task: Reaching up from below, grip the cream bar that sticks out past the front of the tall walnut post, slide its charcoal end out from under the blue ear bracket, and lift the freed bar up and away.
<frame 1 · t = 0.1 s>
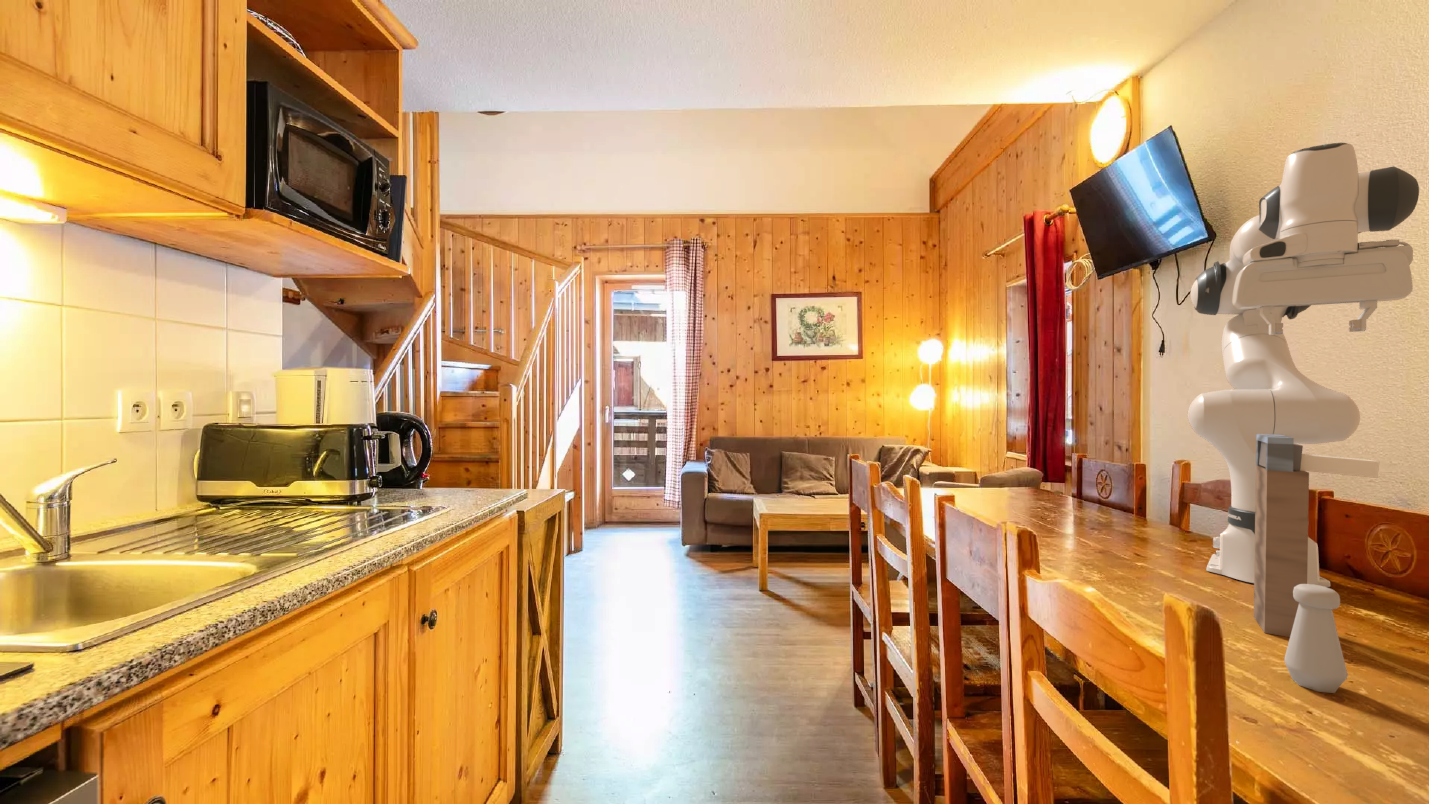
hand: (1315, 333, 95), 48 cm above the table, tool pointing down, fingers open, 8 cm apart
cream bar: (1317, 471, 94), point 26 cm above the table, touching post
post: (1278, 627, 96), on the table
salt shaker: (1314, 686, 77), on the table
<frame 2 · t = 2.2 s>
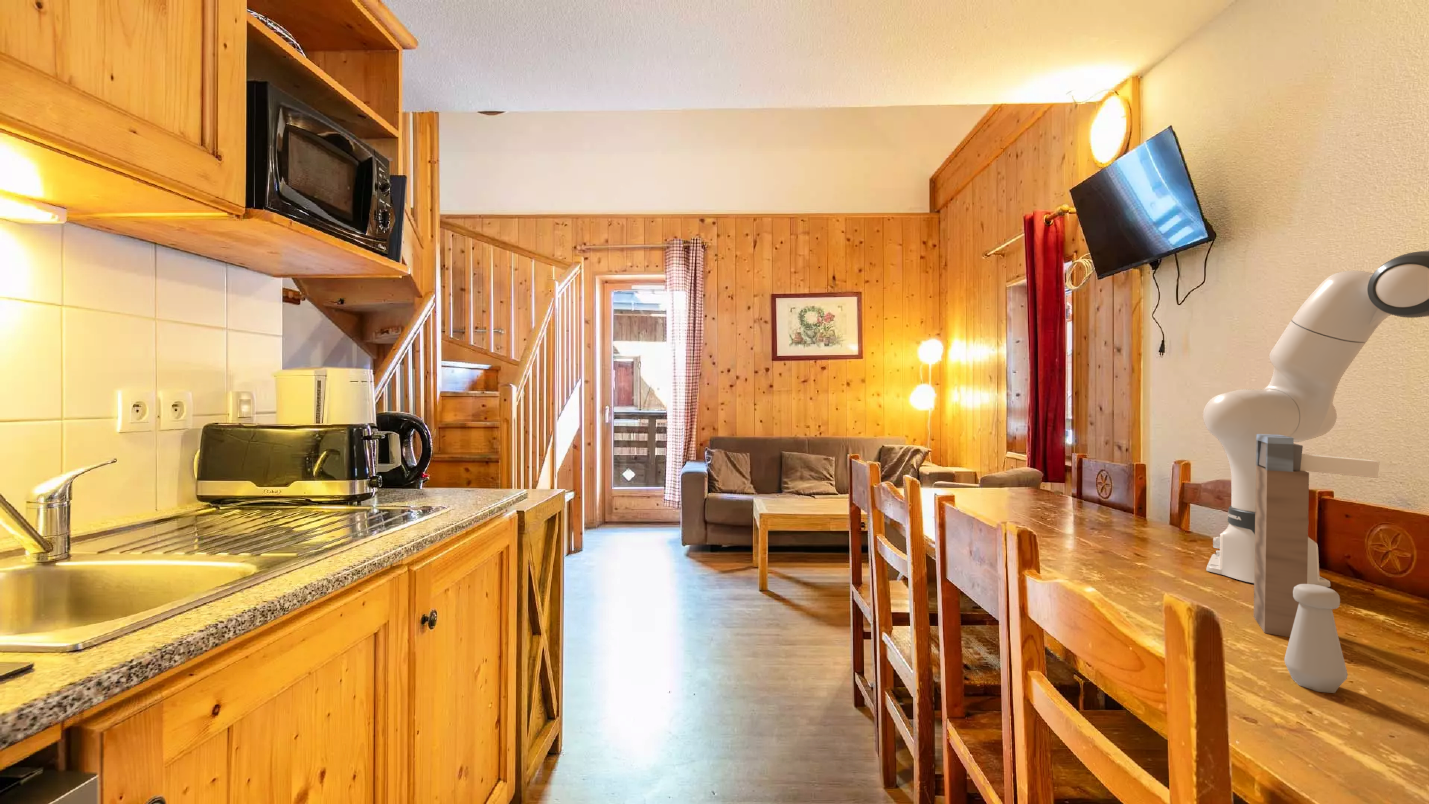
nothing on the table moved.
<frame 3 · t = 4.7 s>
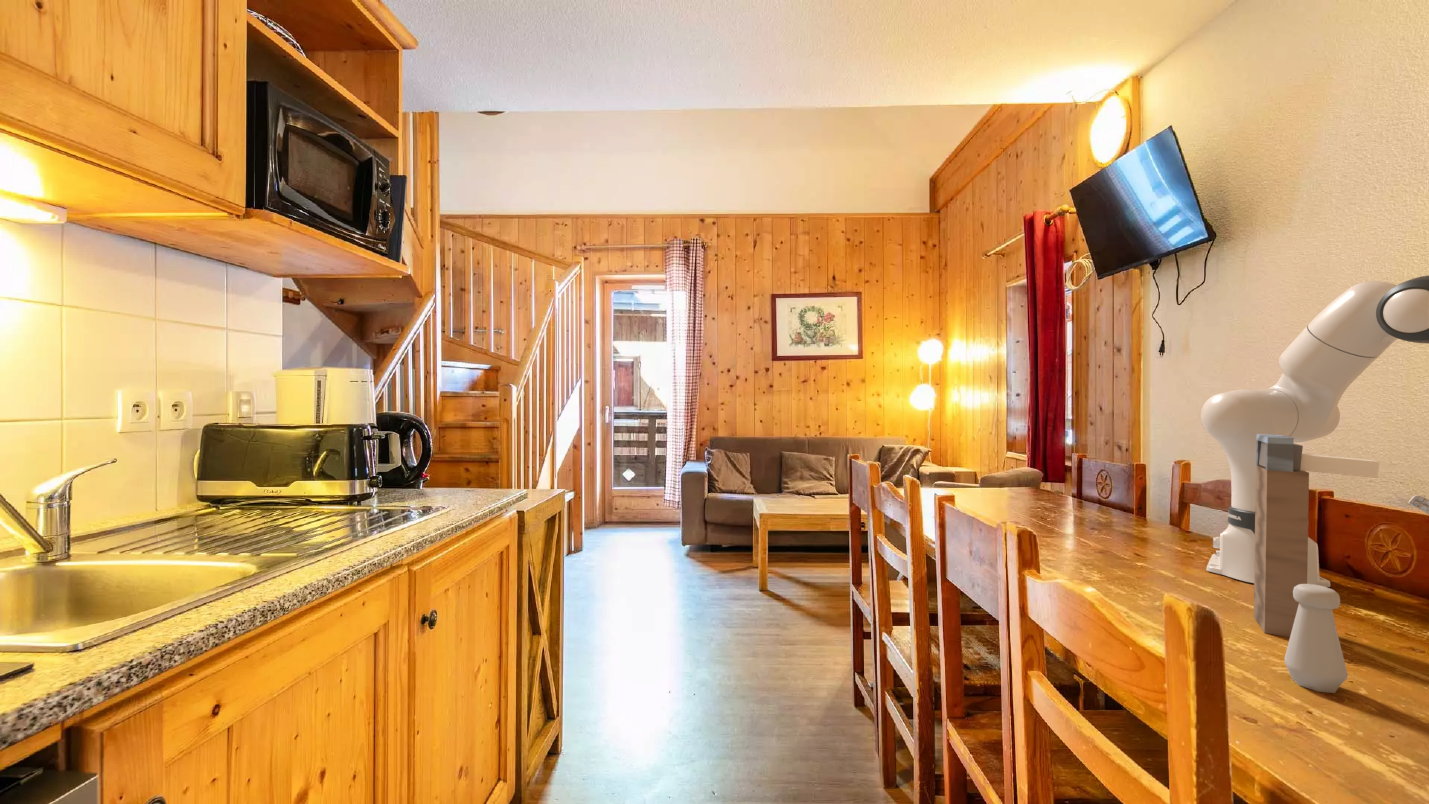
hand: (1427, 504, 87), 22 cm above the table, tool pointing upward, fingers open, 8 cm apart
nothing on the table moved.
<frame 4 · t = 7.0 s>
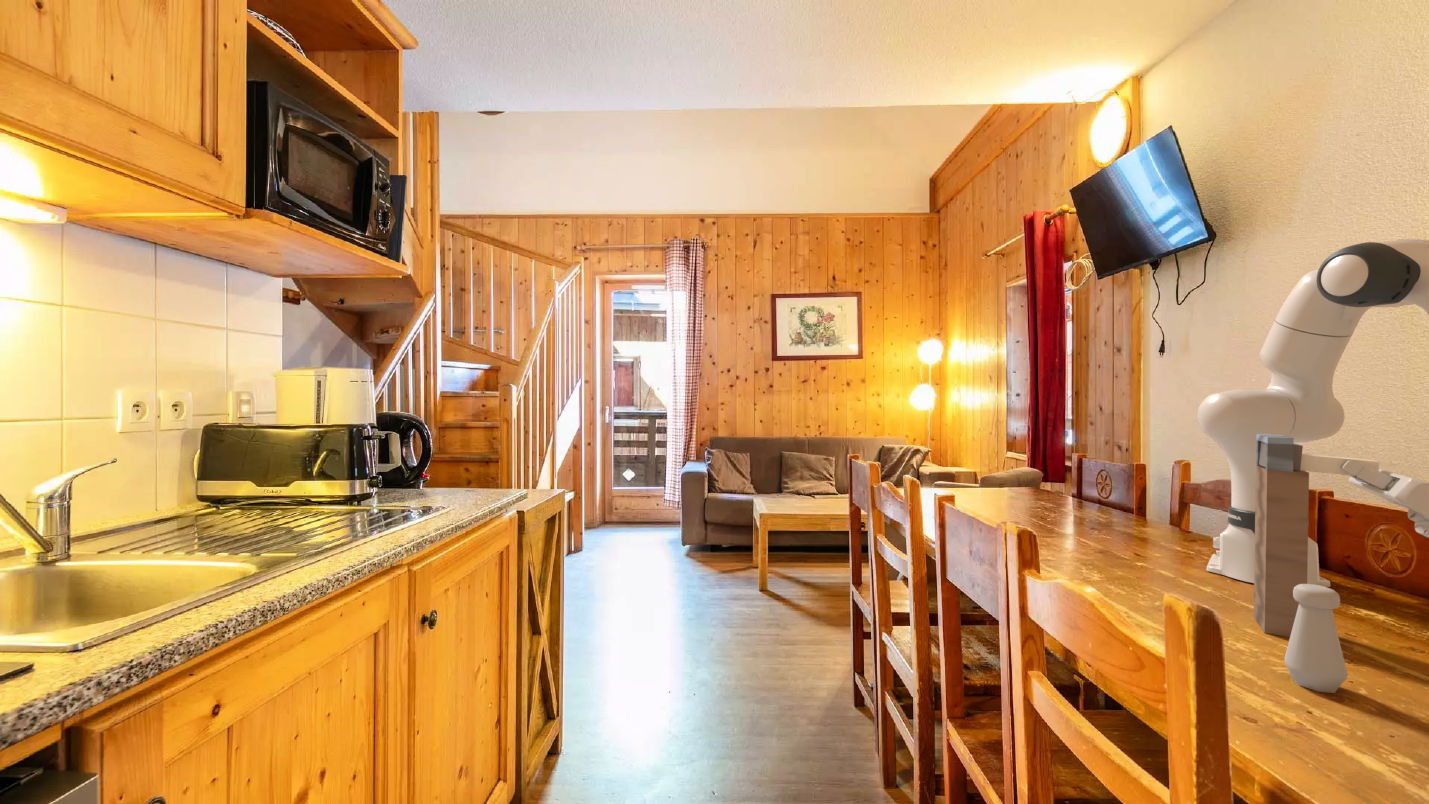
hand: (1339, 462, 92), 27 cm above the table, tool pointing upward, fingers closed on cream bar, 3 cm apart
cream bar: (1317, 471, 94), point 26 cm above the table, touching gripper, post
everything else where it was.
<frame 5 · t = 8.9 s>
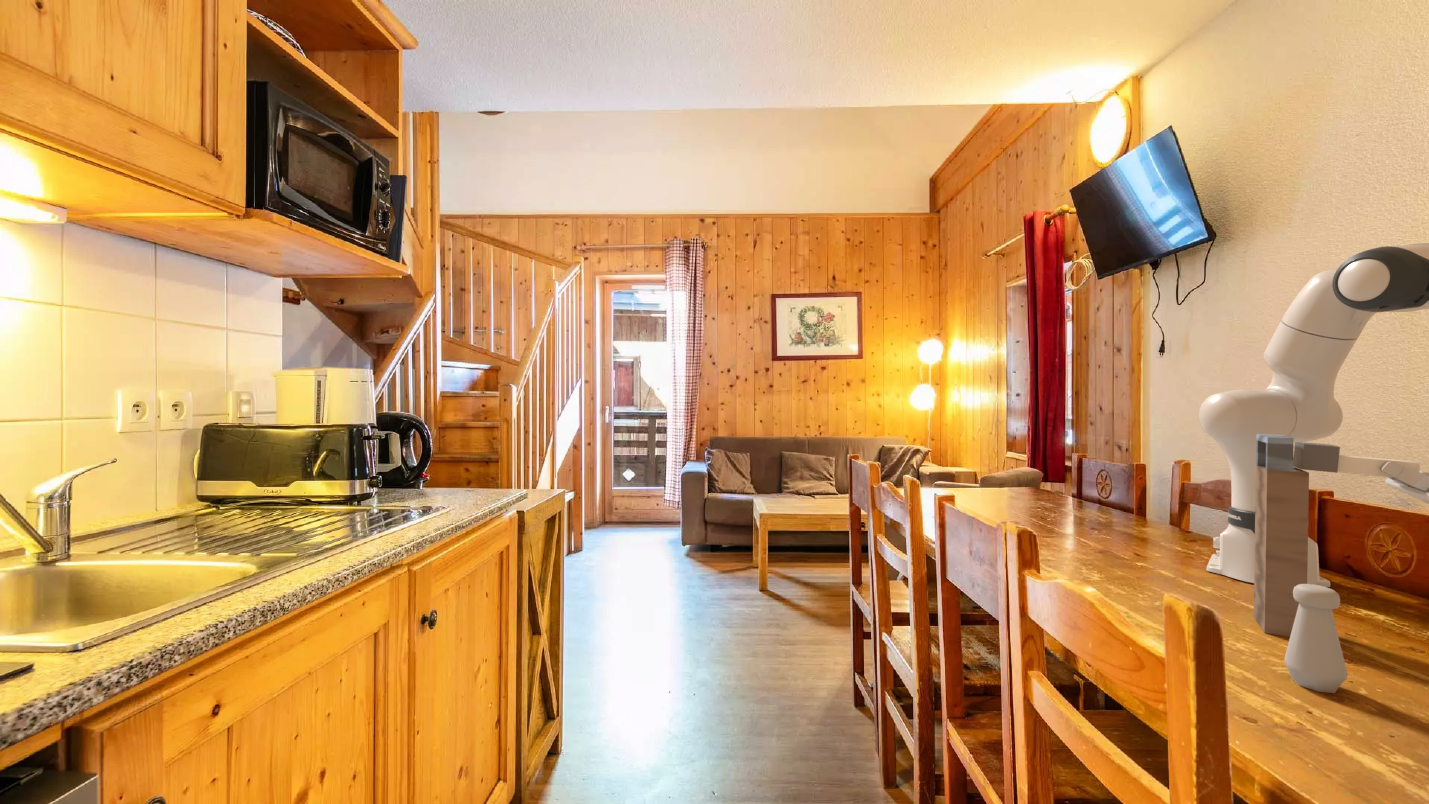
hand: (1377, 463, 90), 28 cm above the table, tool pointing upward, fingers closed on cream bar, 3 cm apart
cream bar: (1354, 473, 91), point 26 cm above the table, touching gripper
everything else where it was.
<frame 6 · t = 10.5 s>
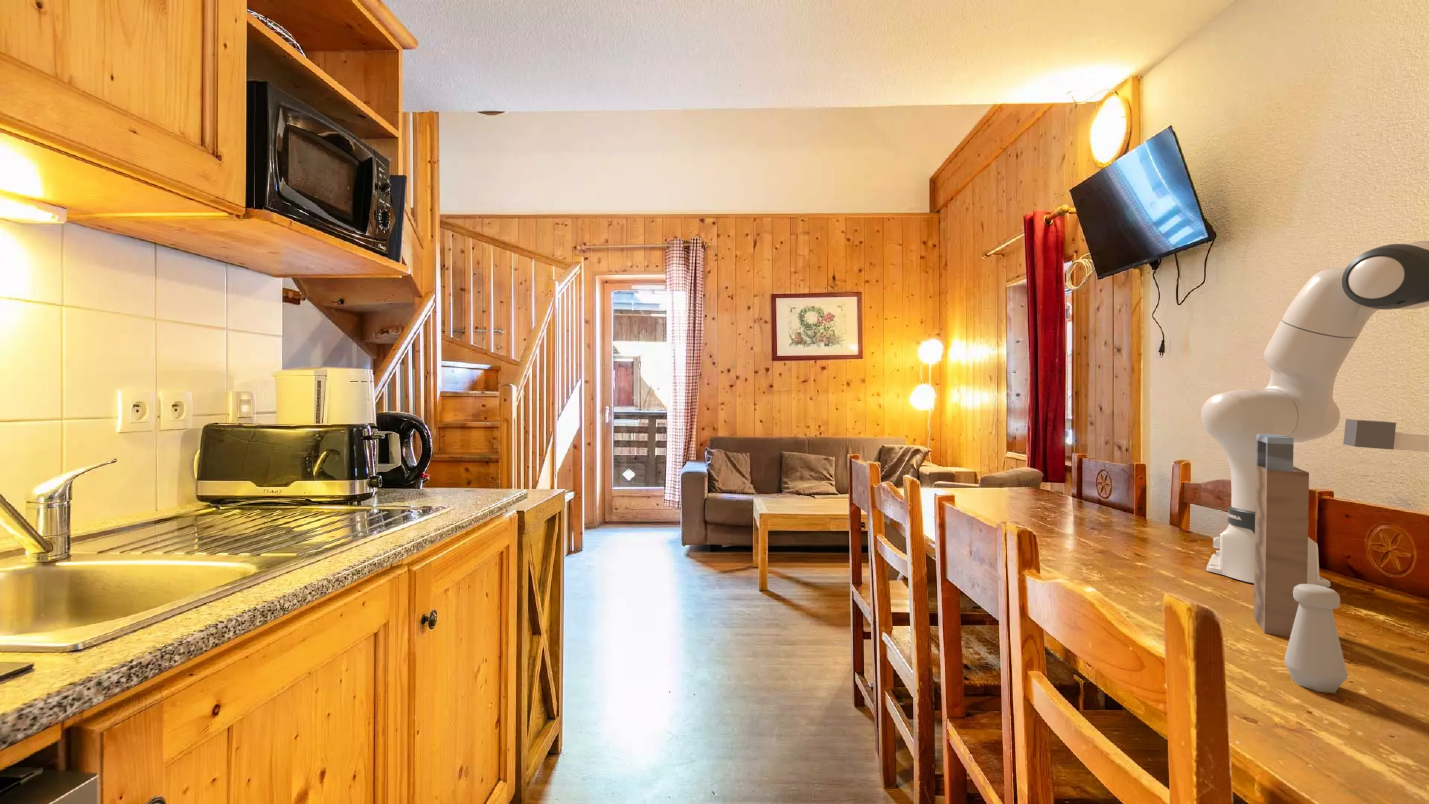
cream bar: (1410, 450, 88), point 30 cm above the table, touching gripper
everything else where it was.
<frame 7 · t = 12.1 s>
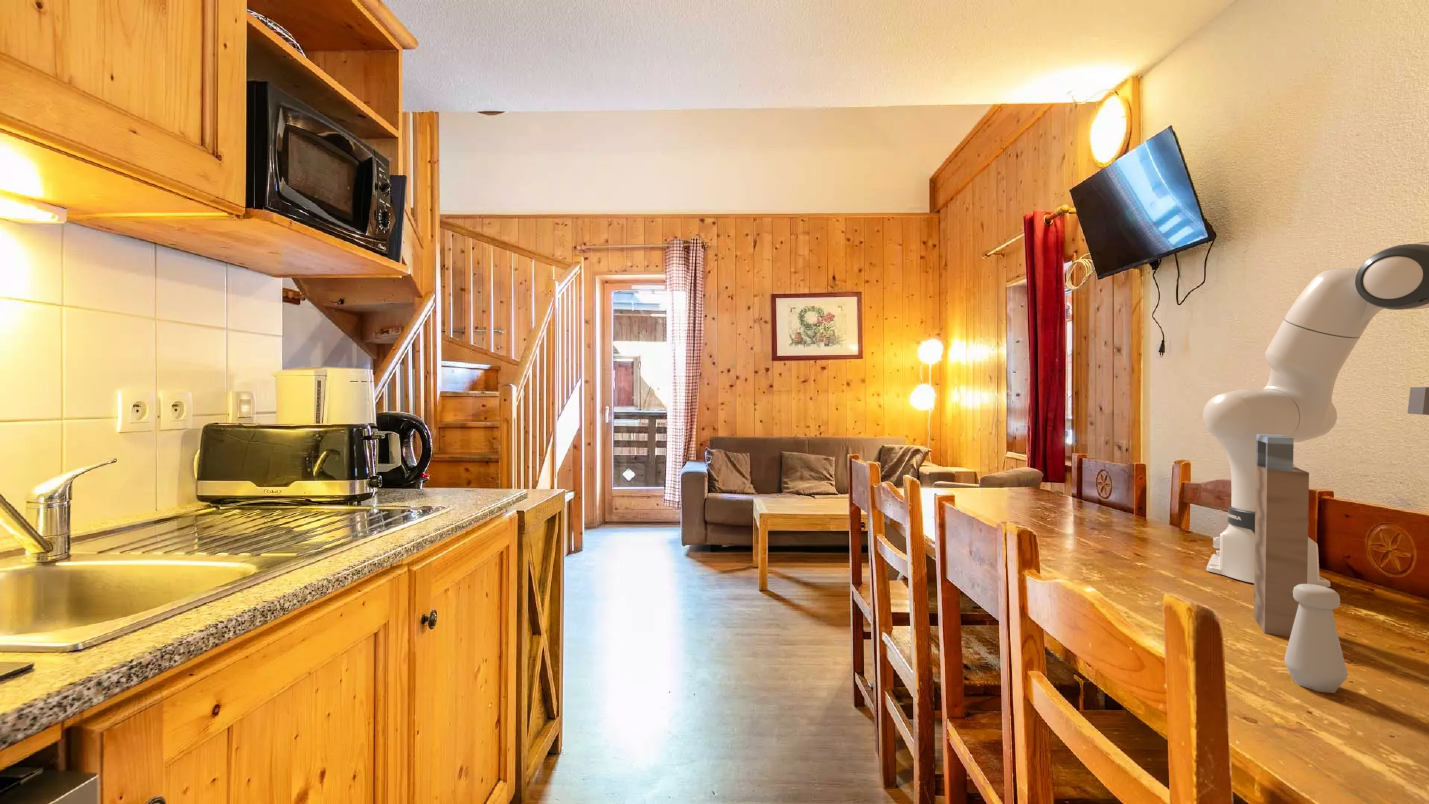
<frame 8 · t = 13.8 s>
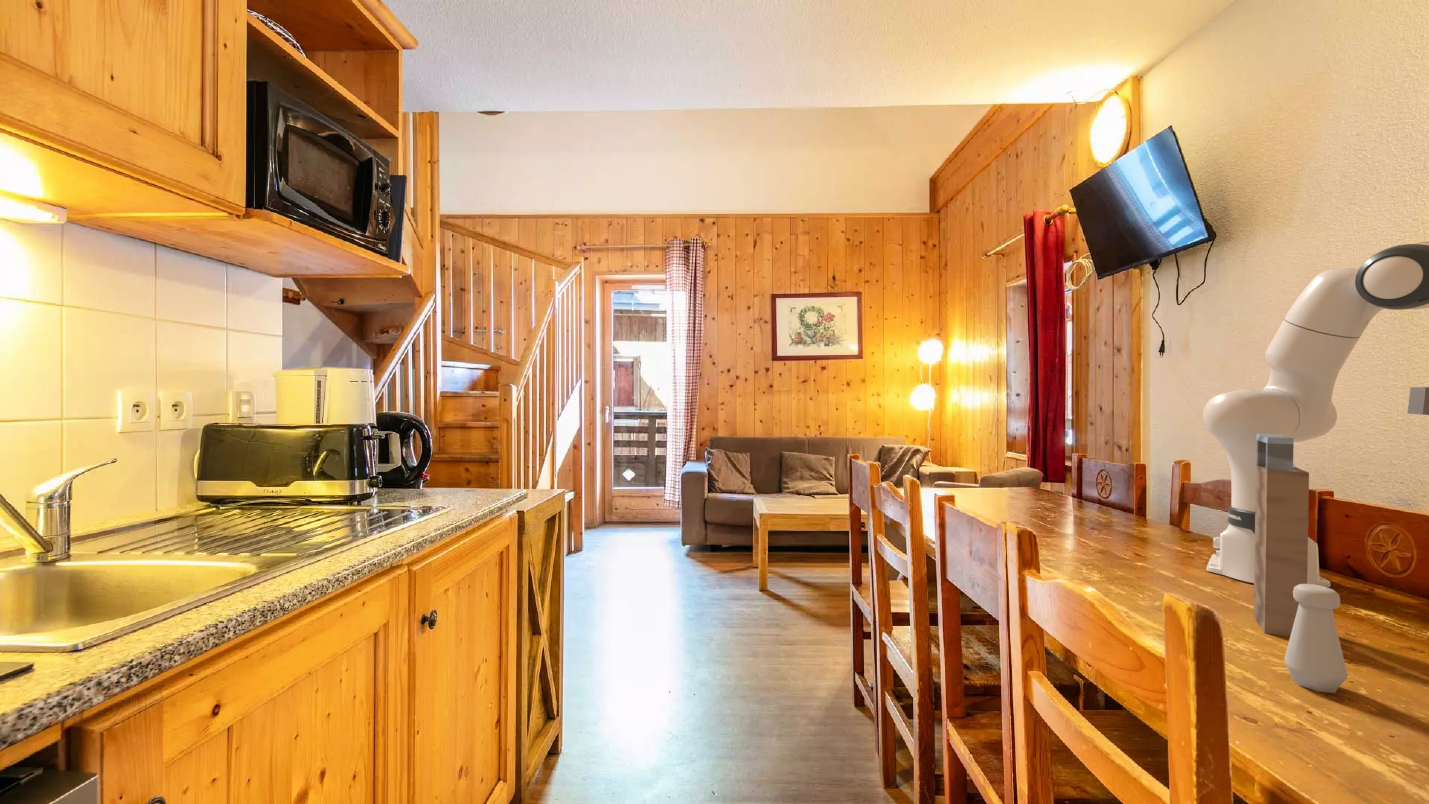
at the end: the gripper is holding cream bar; cream bar touching gripper; cream bar point 34.8 cm above the table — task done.
